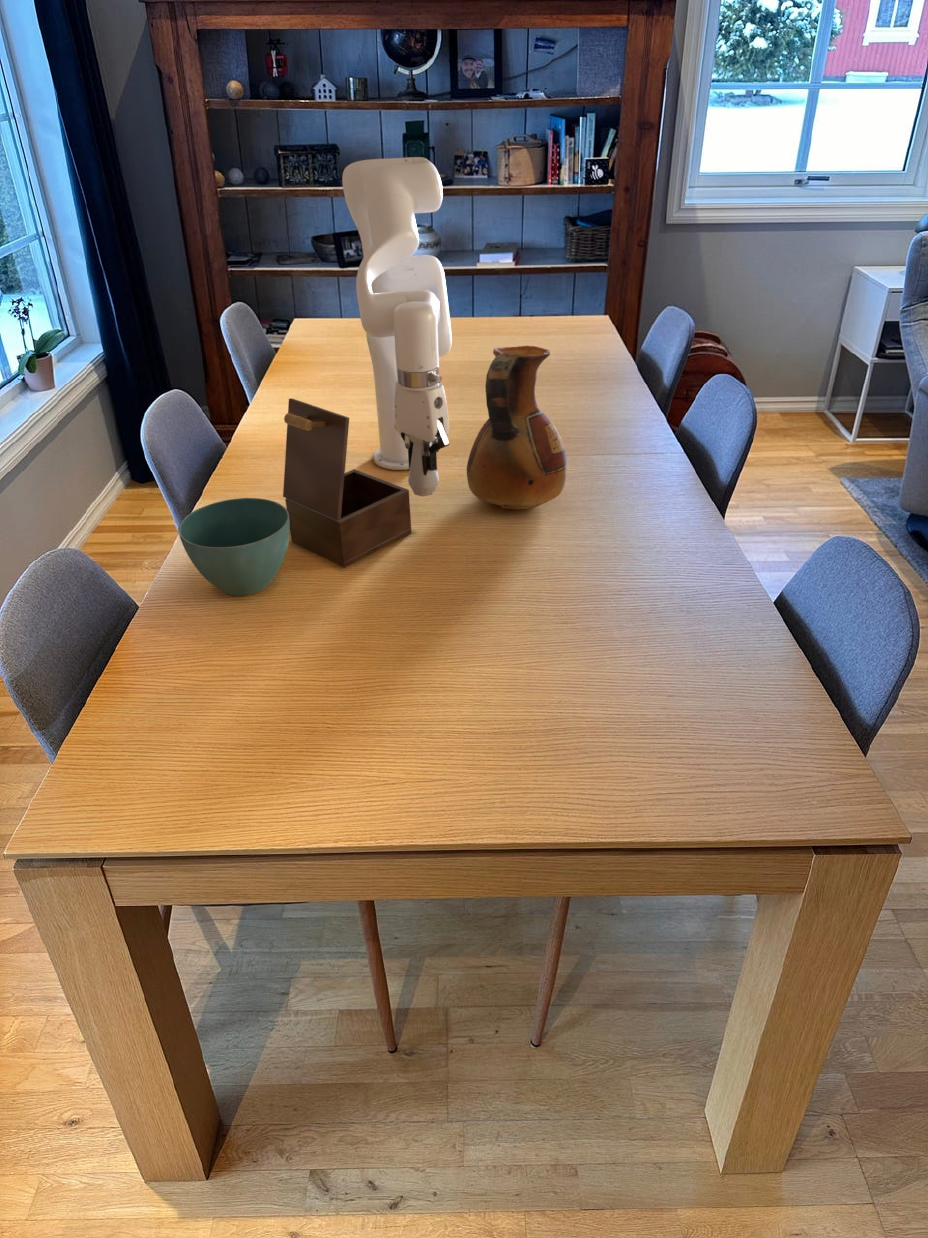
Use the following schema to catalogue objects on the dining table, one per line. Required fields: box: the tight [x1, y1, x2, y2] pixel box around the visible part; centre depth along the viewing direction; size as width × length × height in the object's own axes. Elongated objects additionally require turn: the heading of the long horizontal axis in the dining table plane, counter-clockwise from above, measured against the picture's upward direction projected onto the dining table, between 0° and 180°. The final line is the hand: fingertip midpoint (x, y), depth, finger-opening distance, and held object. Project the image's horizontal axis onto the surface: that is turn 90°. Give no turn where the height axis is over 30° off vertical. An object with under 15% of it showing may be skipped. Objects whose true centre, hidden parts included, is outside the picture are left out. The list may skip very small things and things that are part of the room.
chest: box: [284, 468, 413, 568], centre depth 171 cm, size 17×15×9 cm
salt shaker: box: [407, 435, 440, 498], centre depth 173 cm, size 6×6×13 cm
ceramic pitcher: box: [466, 345, 568, 510], centre depth 178 cm, size 20×20×30 cm
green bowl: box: [177, 497, 290, 597], centre depth 157 cm, size 18×18×12 cm
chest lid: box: [282, 398, 350, 521], centre depth 158 cm, size 18×15×5 cm
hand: (423, 469), depth 174 cm, fingers closed on salt shaker, 3 cm apart
